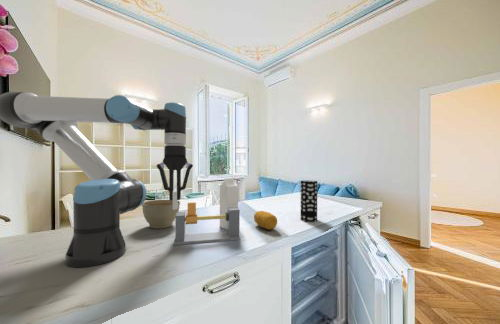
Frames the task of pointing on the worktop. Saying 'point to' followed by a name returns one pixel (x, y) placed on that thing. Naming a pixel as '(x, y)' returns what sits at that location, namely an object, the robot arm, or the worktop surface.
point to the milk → (227, 198)
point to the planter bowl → (159, 213)
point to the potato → (265, 220)
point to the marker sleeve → (191, 214)
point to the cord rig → (231, 233)
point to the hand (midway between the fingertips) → (175, 208)
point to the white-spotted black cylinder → (309, 201)
